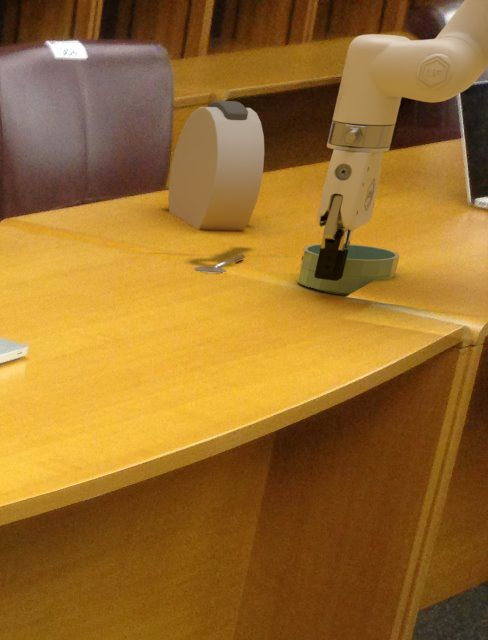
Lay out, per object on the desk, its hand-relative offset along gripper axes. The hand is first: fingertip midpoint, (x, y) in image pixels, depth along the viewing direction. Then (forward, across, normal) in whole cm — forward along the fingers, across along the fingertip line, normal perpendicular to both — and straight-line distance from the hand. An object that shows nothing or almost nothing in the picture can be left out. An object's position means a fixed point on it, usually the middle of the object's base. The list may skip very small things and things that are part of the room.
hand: (327, 278), depth 208 cm
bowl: (+3, +8, 0) cm, 8 cm away
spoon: (+3, +11, +17) cm, 21 cm away
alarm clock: (+3, +43, +31) cm, 53 cm away
